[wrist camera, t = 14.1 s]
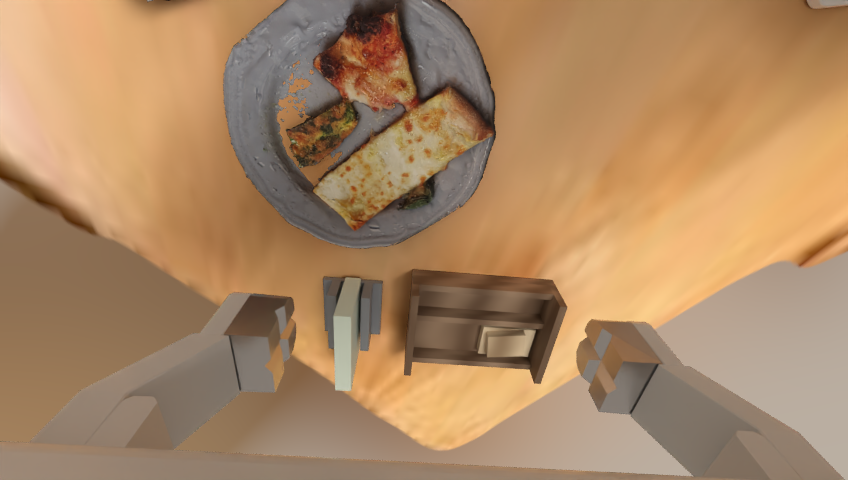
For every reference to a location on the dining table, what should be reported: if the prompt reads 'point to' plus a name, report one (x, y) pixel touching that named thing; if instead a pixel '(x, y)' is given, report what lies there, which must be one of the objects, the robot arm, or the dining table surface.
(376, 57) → the food plate
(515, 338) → the offcut upper
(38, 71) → the dining table surface
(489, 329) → the offcut lower
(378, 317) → the stand
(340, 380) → the board
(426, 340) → the rack
